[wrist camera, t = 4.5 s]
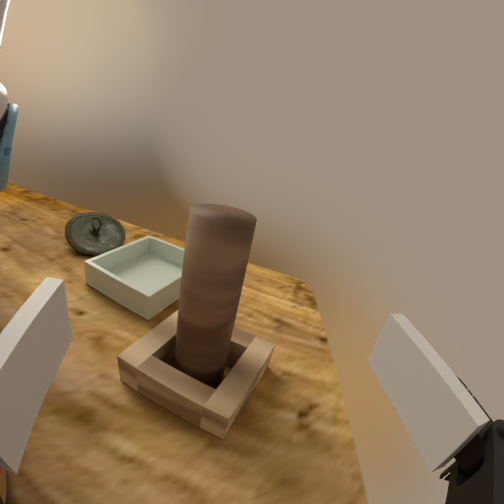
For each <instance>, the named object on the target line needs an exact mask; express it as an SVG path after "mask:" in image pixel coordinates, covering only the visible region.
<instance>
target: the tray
mask: <svg viewBox="0 0 504 504" xmlns="http://www.w3.org/2000/svg"><path fill="white" fill-rule="evenodd" d="M184 250H185V249H183V248H180V247H178V246H175V245H173V244H170V243H168V242H165V241H162V240H160V239H157V238H155V237H152V236H147V237H144V238H142V239H139V240H136V241H134V242H131V243H129V244H126V245H123V246H121V247H118V248H116V249H113V250H111V251H108V252H106V253H103V254H101V255H98V256H96V257H94V258H91V259H89V260H86V261H85V278H86V283H87V284H88V285H90V286H91V287H93V288H95V289H96V290H98V291H99V292H101V293H103V294H104V295H106V296H107V297H109V298H111V299H112V300H114V301H116V302H117V303H119V304H121V305H122V306H124V307H126V308H128V309H129V310H131V311H133V312H134V313H136V314H138V315H140V316H141V317H143V318H145V319H147V320H150V319H151V318H153V317H154V316H155V315H157V314H158V313H160V312H161V311H162V310H164V309H165V308H167V307H168V306H169V305H171V304H172V303H174V302H175V301H176V300H178V299H179V297H180V286H181V277H182V267H183V259H184Z"/></svg>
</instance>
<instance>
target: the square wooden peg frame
mask: <svg viewBox="0 0 504 504" xmlns="http://www.w3.org/2000/svg"><path fill="white" fill-rule="evenodd" d="M177 319H178V310H177V311H176V312H174V313H173V314H172V315H170V316H169V317H168V318H166V319H165V320H164V321H162V322H161V323H160V324H159V325H157V326H156V327H155V328H153V329H152V330H151V331H149V332H148V333H147V334H145V335H144V336H143V337H141V338H140V339H139V340H137V341H136V342H135V343H134V344H132V345H131V346H130V347H128V348H127V349H126V350H124V351H123V352H122V353H120V354H119V355H118V356H117V357H118V365H119V373H120V380H121V381H123V382H124V383H126V384H127V385H129V386H130V387H132V388H133V389H135V390H136V391H138V392H139V393H141V394H142V395H144V396H145V397H147V398H149V399H150V400H152V401H153V402H155V403H157V404H158V405H160V406H162V407H163V408H165V409H167V410H168V411H170V412H172V413H174V414H175V415H177V416H179V417H181V418H183V419H184V420H186V421H188V422H190V423H192V424H194V425H195V426H197V427H199V428H201V429H203V430H205V431H207V432H209V433H211V434H213V435H215V436H217V437H219V438H221V439H223V438H224V437H225V435H226V434H227V432H228V431H229V429H230V428H231V426H232V424H233V423H234V421H235V420H236V418H237V417H238V415H239V413H240V412H241V410H242V409H243V407H244V405H245V404H246V402H247V401H248V399H249V397H250V396H251V394H252V392H253V391H254V389H255V387H256V386H257V384H258V382H259V381H260V379H261V377H262V376H263V374H264V372H265V370H266V369H267V367H268V365H269V362H270V359H271V356H272V353H273V350H274V347H275V344H274V343H271V342H269V341H266V340H264V339H261V338H259V337H256V336H254V335H251V334H249V333H247V332H244V331H242V330H240V329H237V328H235V327H233V332H232V337H231V341H230V346H229V351H228V355H227V360H226V364H228V365H231V366H233V368H232V369H231V371H230V372H229V373H228V375H227V376H226V377H225V379H224V380H223V381H222V383H221V384H220V385H219V387H218V388H217V389H214V388H212V387H210V386H208V385H206V384H204V383H202V382H200V381H198V380H196V379H194V378H192V377H190V376H188V375H186V374H184V373H183V372H181V371H179V370H177V369H175V368H173V367H172V366H170V365H168V363H169V362H170V361H171V360H172V359H173V358H175V346H176V332H177Z"/></svg>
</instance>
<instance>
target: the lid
mask: <svg viewBox="0 0 504 504" xmlns="http://www.w3.org/2000/svg"><path fill="white" fill-rule="evenodd" d="M65 237H66V239H67V241H68V243H69V244H70V246H71V247H72V248H73V249H74V250H75V251H77V252H79V253H81V254H84V255H91V256H98V255H101V254H103V253H106V252H108V251H111V250H113V249H116V248H118V247H121V246H122V244H123V242H124V240H125V230H124V228H123V226H122V225H121V223H120V222H119V221H117V220H116V219H114V218H112V217H111V216H108V215H105V214H101V213H95V212H87V213H82V214H78V215H77V216H75V217H73V218H72V219H71V220H69V221H68V223H67V224H66V226H65Z"/></svg>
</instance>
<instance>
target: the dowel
mask: <svg viewBox="0 0 504 504" xmlns="http://www.w3.org/2000/svg"><path fill="white" fill-rule="evenodd" d="M256 221H257V219H256V218H255V216H253V215H252V214H250V213H248V212H246V211H244V210H241V209H238V208H234V207H230V206H225V205H217V204H198V205H194V206H192V207H191V208H190V213H189V220H188V227H187V234H186V242H185V250H184V259H183V267H182V277H181V286H180V297H179V307H178V319H177V332H176V346H175V363H174V368H175V369H177V370H179V371H181V372H183V373H184V374H186V375H188V376H190V377H192V378H194V379H196V380H198V381H200V382H202V383H204V384H206V385H208V386H210V387H212V388H214V389H217V388H218V387H219V385H220V384H221V383H222V379H223V374H224V369H225V365H226V360H227V355H228V351H229V346H230V341H231V337H232V332H233V327H234V323H235V318H236V314H237V309H238V304H239V300H240V295H241V290H242V286H243V281H244V277H245V272H246V267H247V263H248V258H249V253H250V249H251V244H252V239H253V235H254V230H255V226H256Z"/></svg>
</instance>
